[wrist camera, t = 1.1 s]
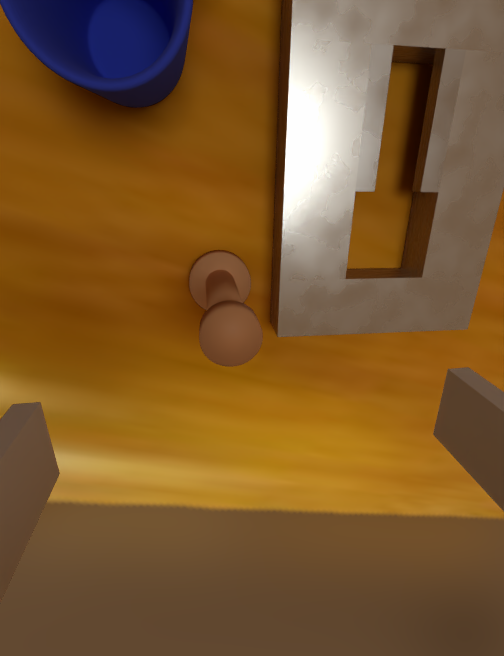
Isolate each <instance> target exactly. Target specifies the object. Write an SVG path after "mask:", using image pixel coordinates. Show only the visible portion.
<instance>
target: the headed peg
mask: <svg viewBox="0 0 504 656" xmlns="http://www.w3.org/2000/svg"><path fill="white" fill-rule="evenodd" d="M189 287H190V292H191V294H192V297H193V298H194V300H195V301H196V303H197V304H198V305H199V306H201V307H202V308H204V309H205V310H207V311H206V312H205V313H204V315H203V316H202V319H201V321H200V328H199V340H200V346H201V349H202V351H203V352H204V354H205V355H206V356H207V357H208V358H209V359H210V360H211V361H212V362H214V363H216V364H219V365H222V366H238V365H241V364H244V363H246V362H248V361H249V360H251V359H252V358H253V357H254V356H255V355H256V354H257V352H258V351H259V349H260V347H261V344H262V338H263V336H262V329H261V326H260V324H259V321H258V319H257V317H256V315H255V313H254V312H253V310H252V309H251V308H250V307H248V306H247V305H246V304H244V303H243V302H244V301H245V300H246V298H247V296H248V294H249V292H250V287H251V279H250V275H249V272H248V270H247V268H246V266H245V264H244V263H243V261H242V260H241V259H240V258H239V257H238V256H236V255H235V254H233V253H231V252H228V251H224V250H214V251H210V252H207V253H205V254H203V255H202V256H201V257H199V258H198V259H197V260H196V262H195V263H194V265H193V267H192V269H191V272H190V279H189Z"/></svg>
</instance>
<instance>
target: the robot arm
mask: <svg viewBox="0 0 504 656" xmlns="http://www.w3.org/2000/svg"><path fill="white" fill-rule="evenodd" d="M433 435H434V436H435V437H436V438H437V439H438V440H439V441H440V442H441V443H442V445H443V446H444V447H445V448H446V449H447V450H448V451H449V452H450V453H451V454H452V455H453V457H454V458H455V459H456V460H457V461H458V462H459V463H460V464H461V465H462V466H463V467H464V469H465V470H466V471H467V472H468V473H469V474H470V475H471V476H472V477H473V478H474V479H475V480H476V482H477V483H478V484H479V485H480V486H481V487H482V488H483V489H484V490H485V491H486V492H487V494H488V495H489V496H490V497H491V498H492V499H493V500H494V501H495V502H496V503H497V504H498V505H499V507H500V508H501V509H502V510H503V511H504V392H503V391H501V390H500V389H498V388H497V387H496V386H494V385H493V384H491V383H490V382H488V381H487V380H486V379H484V378H483V377H481V376H480V375H478V374H477V373H476V372H474V371H473V370H471V369H470V368H455V369H448V371H447V375H446V380H445V384H444V389H443V393H442V398H441V402H440V407H439V411H438V416H437V420H436V424H435V429H434V433H433ZM59 474H60V473H59V469H58V466H57V462H56V458H55V455H54V451H53V447H52V444H51V440H50V436H49V432H48V429H47V425H46V421H45V418H44V414H43V410H42V406H41V403H40V402H35V403H23V404H13V405H12V406H11V407H10V408H9V409H8V411H7V412H6V413H5V414H4V416H3V417H2V418H1V419H0V603H1V600H2V598H3V596H4V594H5V592H6V590H7V588H8V585H9V583H10V581H11V579H12V576H13V574H14V572H15V570H16V568H17V566H18V564H19V561H20V559H21V557H22V554H23V553H24V550H25V548H26V546H27V544H28V541H29V540H30V537H31V535H32V533H33V531H34V528H35V526H36V524H37V522H38V520H39V518H40V515H41V513H42V511H43V509H44V507H45V505H46V502H47V500H48V498H49V496H50V494H51V491H52V489H53V487H54V485H55V483H56V481H57V478H58V476H59Z"/></svg>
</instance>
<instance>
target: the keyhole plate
mask: <svg viewBox="0 0 504 656" xmlns="http://www.w3.org/2000/svg"><path fill="white" fill-rule="evenodd" d="M391 62H401V63H418V64H433V69H432V75H431V81H430V86H429V92H428V98H427V104H426V110H425V116H424V122H423V128H422V134H421V140H420V146H419V152H418V158H417V164H416V170H415V176H414V182H413V188H412V191H413V192H414V194H413V200H412V206H411V212H410V218H409V224H408V229H407V235H406V241H405V247H404V253H403V259H402V265H401V268H374V269H347V260H348V252H349V243H350V234H351V225H352V216H353V207H354V199H355V191H374V190H375V183H376V175H377V168H378V160H379V153H380V145H381V137H382V130H383V122H384V115H385V107H386V99H387V92H388V84H389V77H390V69H391ZM503 188H504V0H282V6H281V34H280V62H279V90H278V118H277V146H276V174H275V202H274V229H273V257H272V285H271V313H270V323H271V325H272V327H273V329H274V331H275V333H276V335H277V337H287V336H312V335H337V334H361V333H386V332H411V331H436V330H460V329H468V325H469V321H470V317H471V313H472V309H473V306H474V302H475V298H476V294H477V290H478V286H479V282H480V278H481V274H482V270H483V266H484V263H485V259H486V255H487V251H488V247H489V243H490V239H491V235H492V231H493V227H494V223H495V220H496V216H497V212H498V208H499V204H500V200H501V196H502V192H503Z"/></svg>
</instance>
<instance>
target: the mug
mask: <svg viewBox="0 0 504 656" xmlns="http://www.w3.org/2000/svg"><path fill="white" fill-rule="evenodd" d="M0 4H1V6H2V8H3V10H4V13H5V15H6V17H7V18H8V20H9V22H10V24H11V25H12V27H13V29H14V30H15V32H16V33H17V34H18V36H19V37H20V39H21V40H22V41H23V43H24V44H25V45H26V46H27V47H28V49H29V50H30V51H31V52H32V53H33V54H34V55H35V56H36V57H37V58H38V59H39V60H40V61H41V62H42V63H43V64H45V65H46V66H47V67H48V68H49V69H51V70H52V71H53V72H55V73H56V74H58V75H59V76H61V77H63V78H64V79H66V80H68V81H70V82H72V83H74V84H76V85H78V86H81V87H83V88H85V89H87V90H89V91H91V92H93V93H96V94H98V95H100V96H102V97H104V98H106V99H108V100H110V101H113V102H115V103H117V104H120V105H124V106H128V107H146V106H150V105H153V104H155V103H158V102H159V101H161V100H162V99H164V98H165V97H166V96H167V95H169V94H170V92H171V91H172V90H173V89H174V87H175V86H176V84H177V82H178V81H179V78H180V76H181V73H182V70H183V66H184V62H185V55H186V48H187V41H188V35H189V28H190V21H191V14H192V7H193V0H0Z"/></svg>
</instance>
